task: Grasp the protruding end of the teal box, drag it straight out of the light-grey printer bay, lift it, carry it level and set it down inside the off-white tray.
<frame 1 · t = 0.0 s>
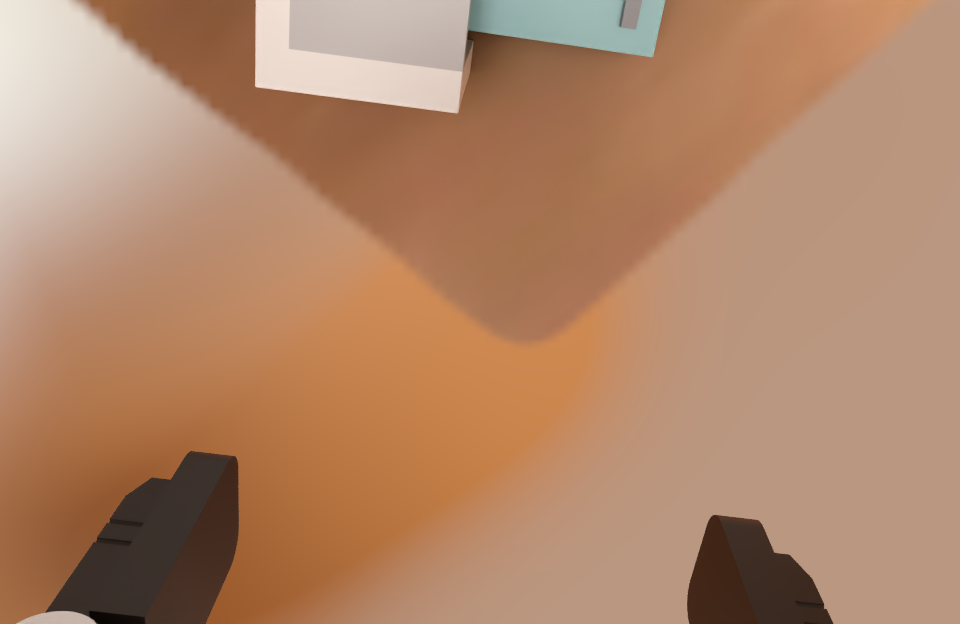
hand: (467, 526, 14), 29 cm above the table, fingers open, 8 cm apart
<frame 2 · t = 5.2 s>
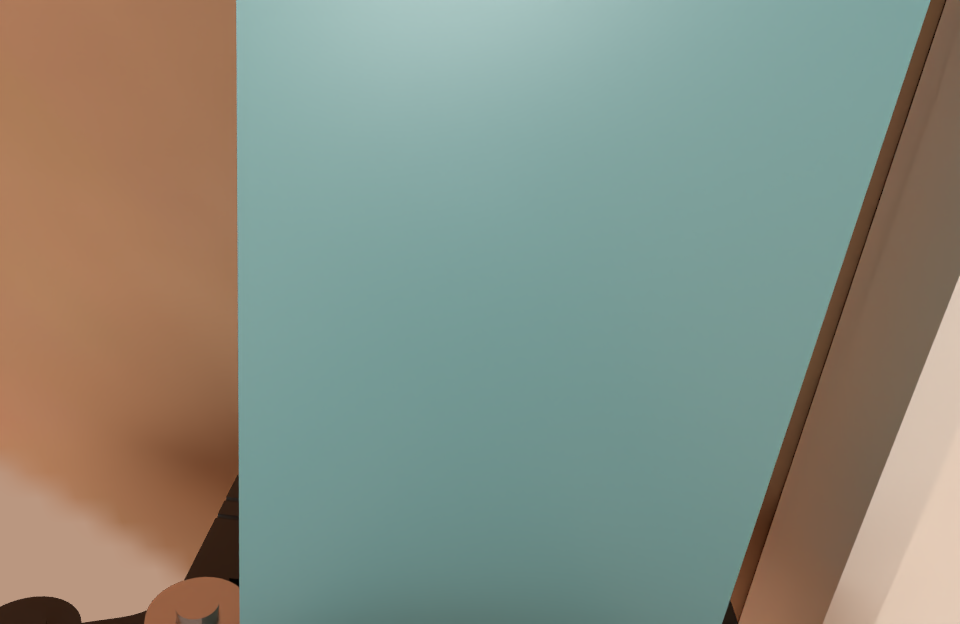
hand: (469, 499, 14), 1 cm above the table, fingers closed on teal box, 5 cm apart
teal box: (508, 230, 13), on the table, touching gripper
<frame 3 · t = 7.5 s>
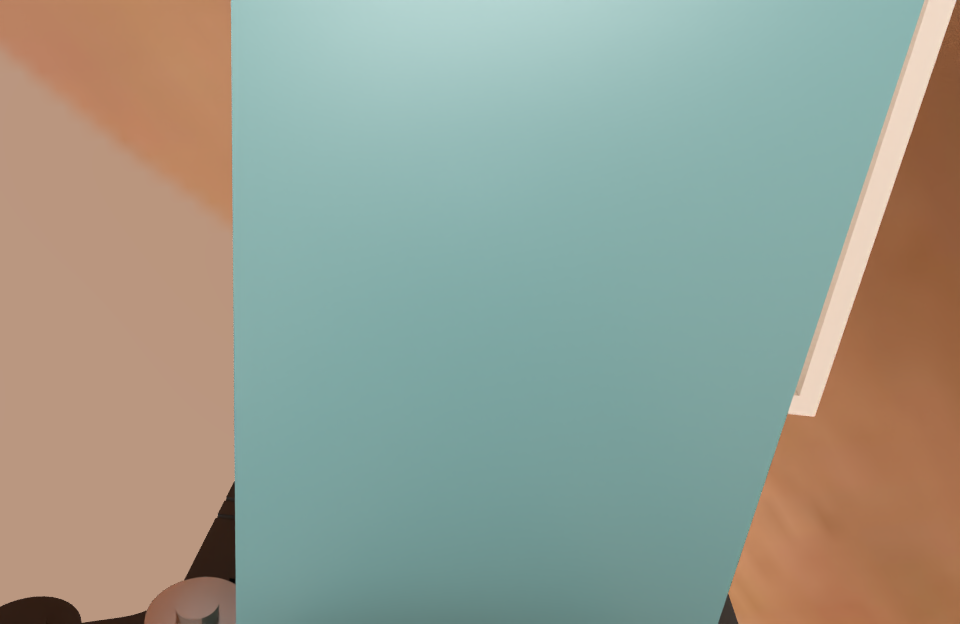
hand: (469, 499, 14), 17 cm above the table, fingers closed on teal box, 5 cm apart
teal box: (505, 230, 13), point 16 cm above the table, touching gripper
tray: (712, 149, 28), on the table
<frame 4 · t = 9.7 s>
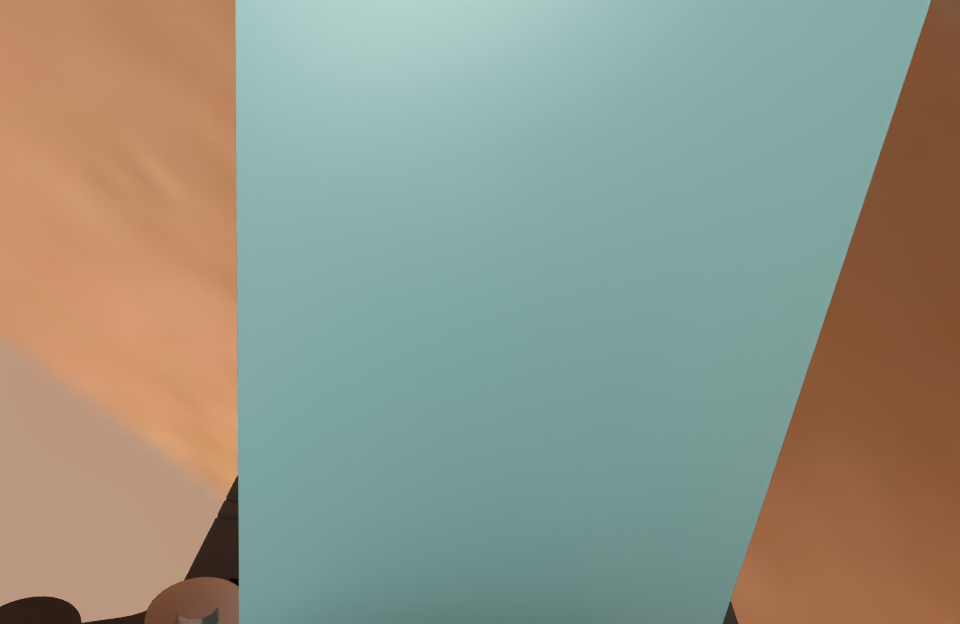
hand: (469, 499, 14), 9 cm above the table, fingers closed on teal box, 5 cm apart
teal box: (508, 232, 13), point 8 cm above the table, touching gripper
when the fingers open (3 cm above the table, at t = 11.7 s): teal box drops 1 cm, resting on tray.
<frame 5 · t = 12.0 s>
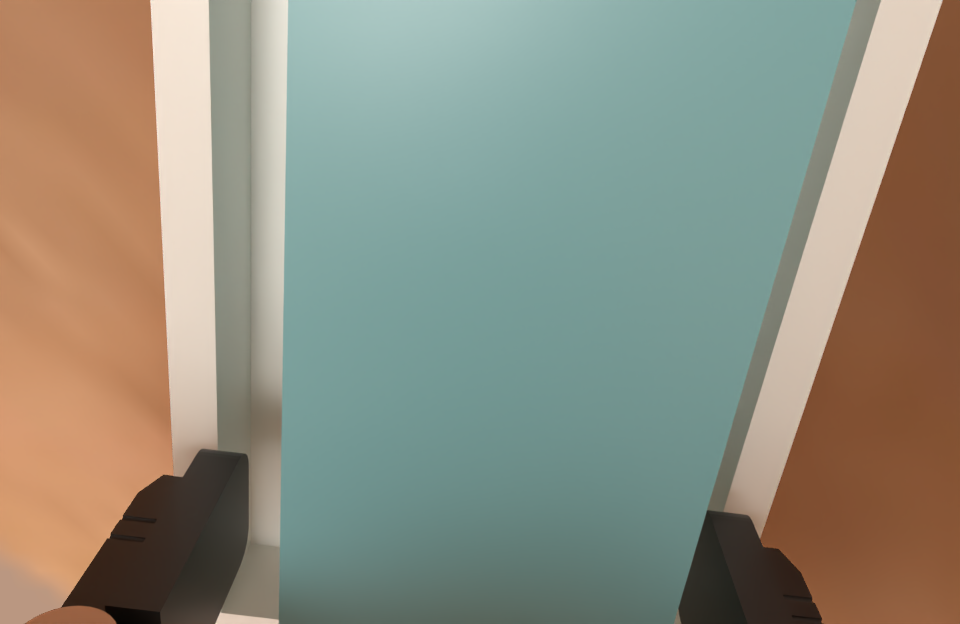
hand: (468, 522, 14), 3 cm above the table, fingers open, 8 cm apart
teal box: (510, 215, 14), point 1 cm above the table, touching tray
tray: (504, 211, 15), on the table
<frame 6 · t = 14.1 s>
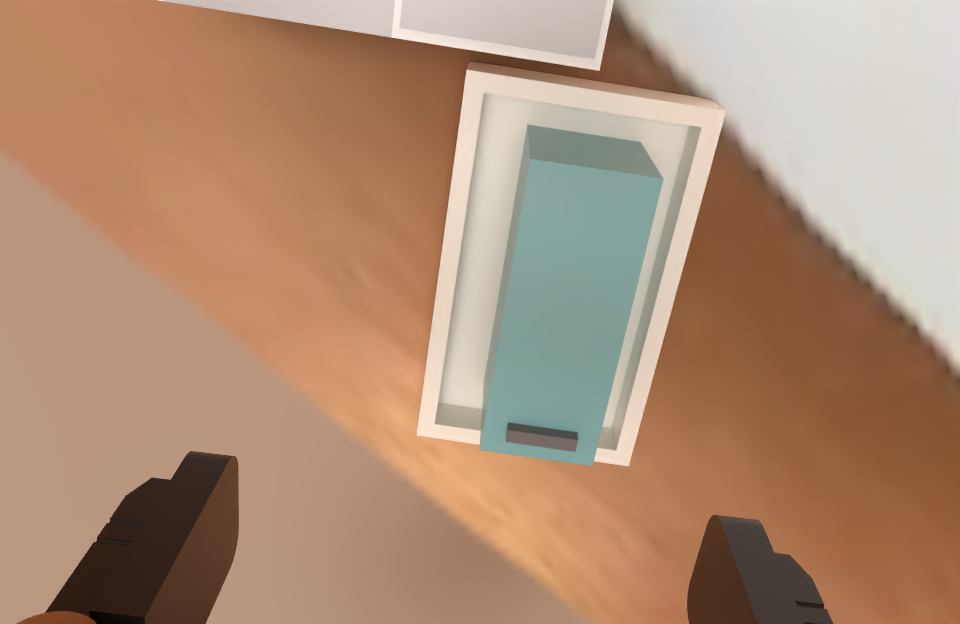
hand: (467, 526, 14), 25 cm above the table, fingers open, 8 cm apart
teal box: (556, 270, 38), point 1 cm above the table, touching tray
tray: (553, 267, 39), on the table
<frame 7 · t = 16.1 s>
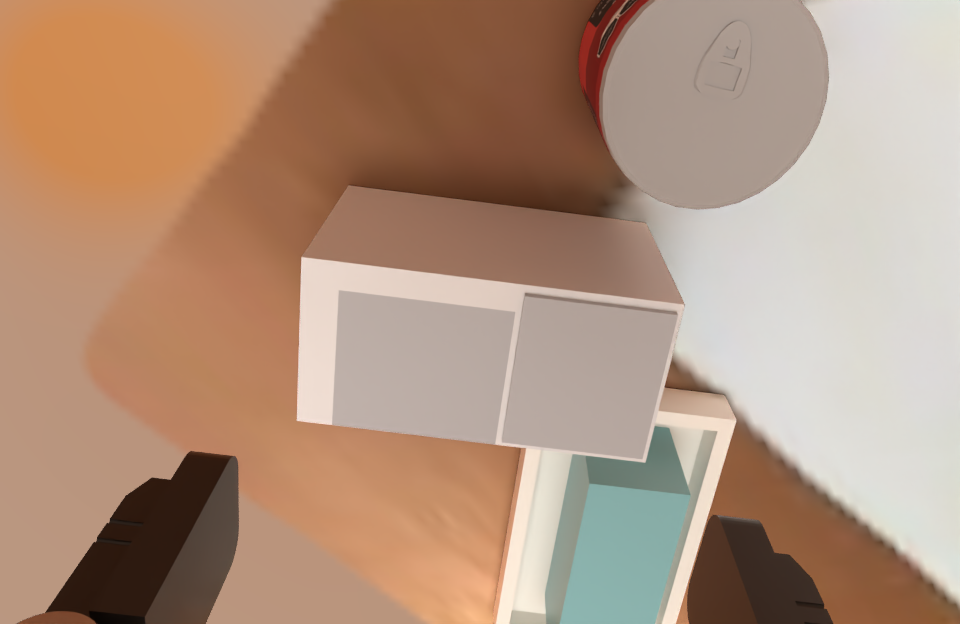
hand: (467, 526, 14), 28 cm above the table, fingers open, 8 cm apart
teal box: (603, 515, 48), point 1 cm above the table, touching tray
printer bay: (488, 273, 42), on the table
canned food: (659, 55, 37), on the table
tray: (600, 510, 48), on the table
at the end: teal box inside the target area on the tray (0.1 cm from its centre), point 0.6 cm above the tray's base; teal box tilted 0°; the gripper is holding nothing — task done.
